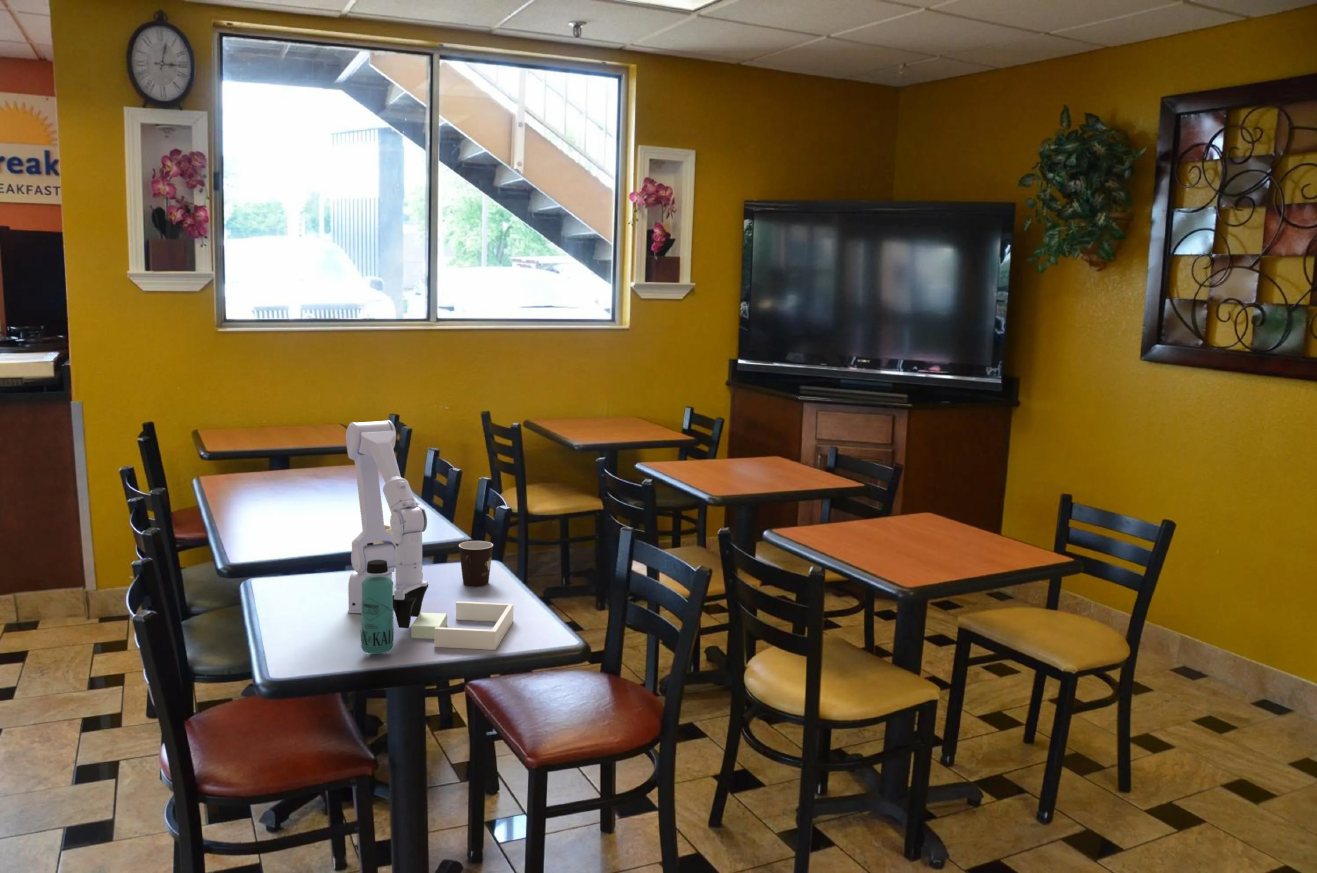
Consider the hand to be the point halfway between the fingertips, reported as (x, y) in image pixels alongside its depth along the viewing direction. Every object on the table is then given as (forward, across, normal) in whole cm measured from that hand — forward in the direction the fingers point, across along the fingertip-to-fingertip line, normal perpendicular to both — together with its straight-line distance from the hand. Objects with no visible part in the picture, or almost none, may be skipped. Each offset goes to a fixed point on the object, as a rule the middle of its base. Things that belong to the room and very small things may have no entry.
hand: (409, 621), depth 227 cm
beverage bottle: (+2, -16, +2) cm, 16 cm away
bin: (+2, 0, -15) cm, 15 cm away
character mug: (+2, +39, +20) cm, 44 cm away
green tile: (+2, 0, -4) cm, 5 cm away
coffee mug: (+2, +36, -5) cm, 36 cm away
